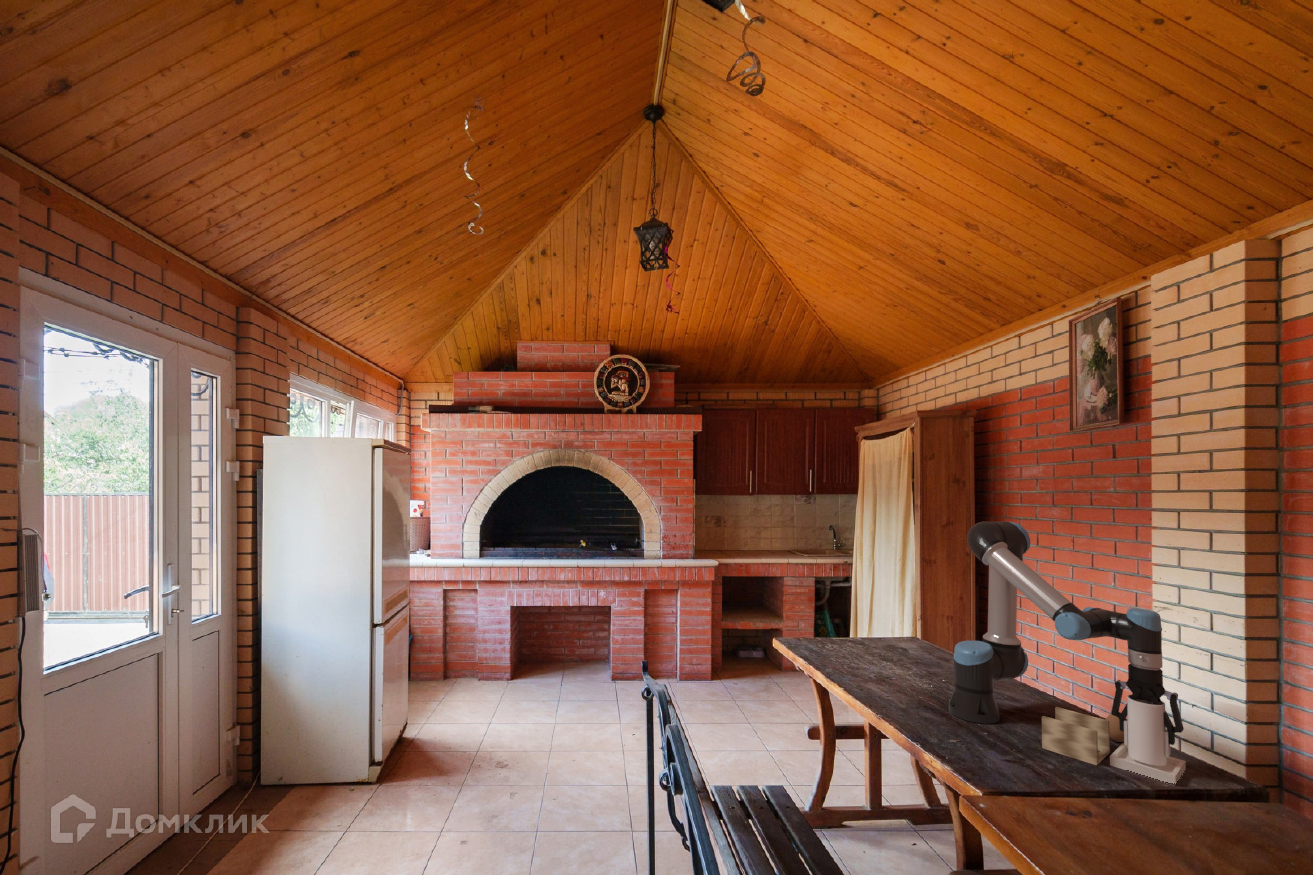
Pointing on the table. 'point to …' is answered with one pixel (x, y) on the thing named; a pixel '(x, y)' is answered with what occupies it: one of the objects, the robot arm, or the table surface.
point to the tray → (1148, 766)
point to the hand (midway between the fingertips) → (1146, 749)
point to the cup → (1146, 732)
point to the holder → (1076, 735)
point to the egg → (1115, 729)
